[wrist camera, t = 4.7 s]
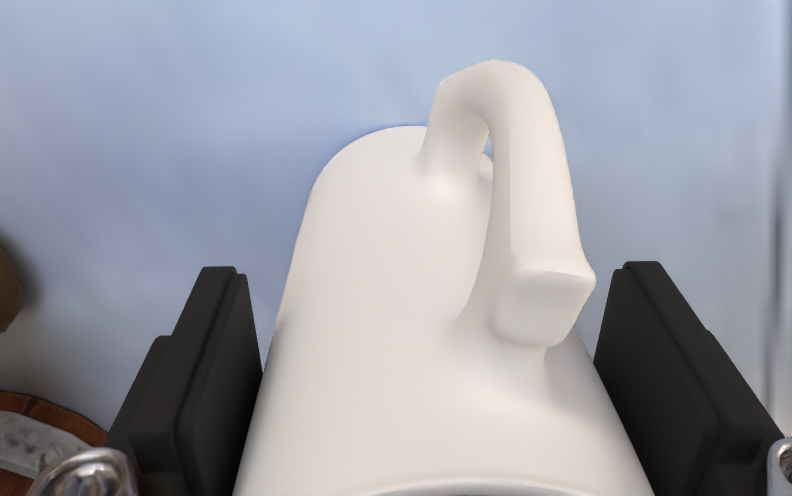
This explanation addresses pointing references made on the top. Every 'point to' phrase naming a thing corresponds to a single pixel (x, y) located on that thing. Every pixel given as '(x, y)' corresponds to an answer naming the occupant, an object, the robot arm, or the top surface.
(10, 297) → the kendama
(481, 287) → the mug
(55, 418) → the mug
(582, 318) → the top surface
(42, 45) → the top surface
